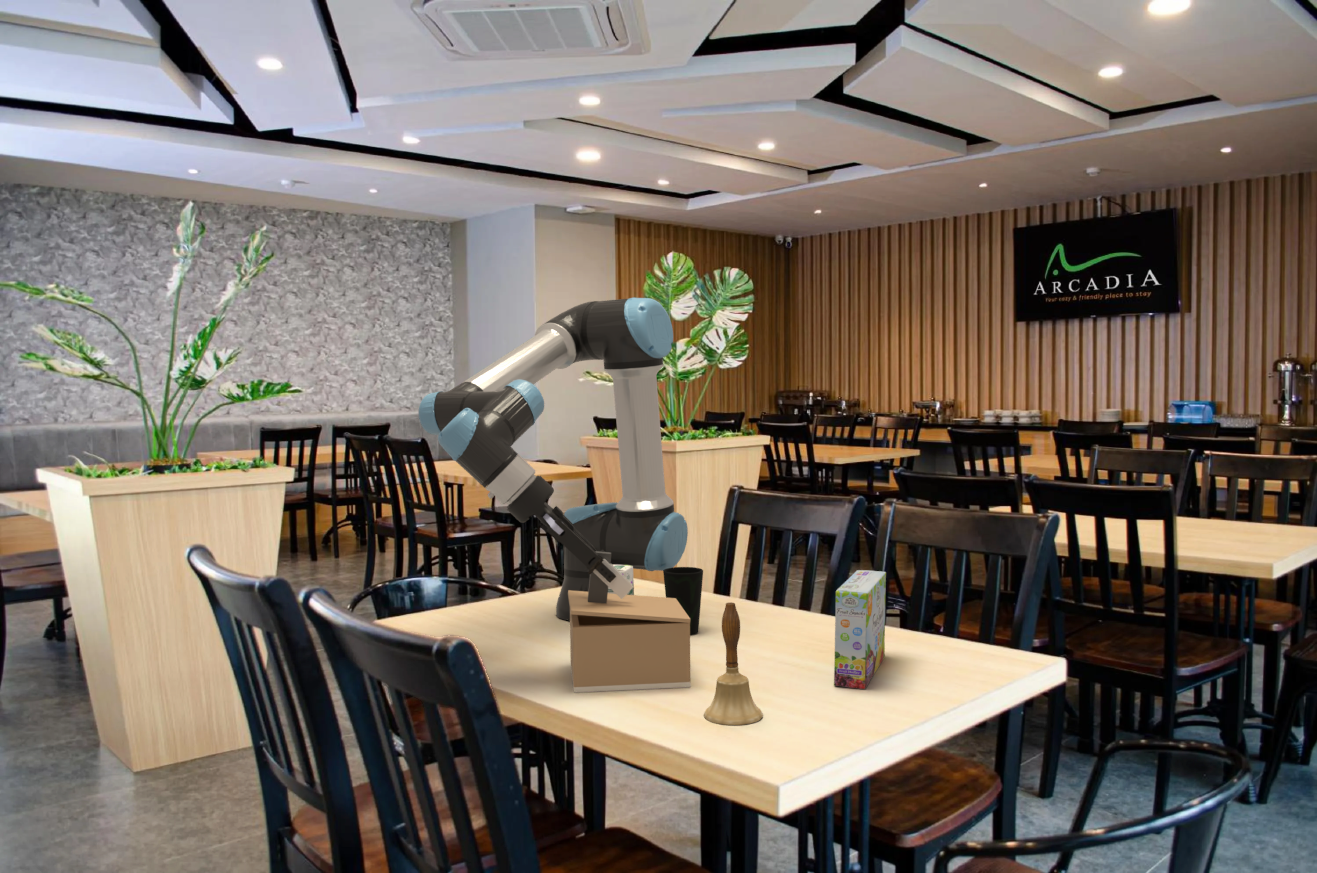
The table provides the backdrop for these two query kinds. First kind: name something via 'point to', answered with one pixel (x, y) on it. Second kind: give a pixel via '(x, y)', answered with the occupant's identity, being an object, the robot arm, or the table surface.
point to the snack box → (859, 628)
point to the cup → (685, 591)
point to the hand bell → (732, 681)
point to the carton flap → (623, 603)
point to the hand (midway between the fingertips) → (626, 591)
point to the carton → (628, 654)
